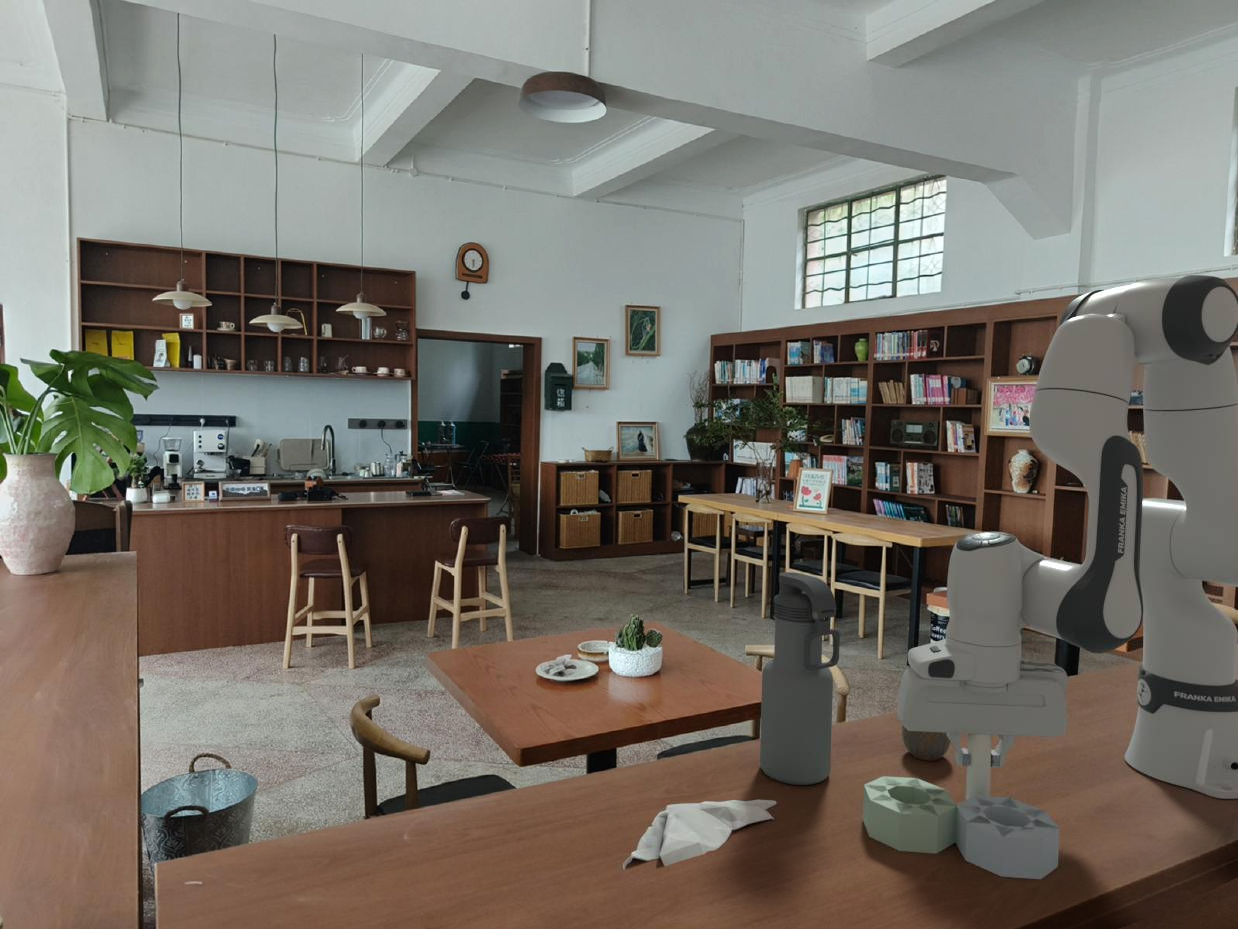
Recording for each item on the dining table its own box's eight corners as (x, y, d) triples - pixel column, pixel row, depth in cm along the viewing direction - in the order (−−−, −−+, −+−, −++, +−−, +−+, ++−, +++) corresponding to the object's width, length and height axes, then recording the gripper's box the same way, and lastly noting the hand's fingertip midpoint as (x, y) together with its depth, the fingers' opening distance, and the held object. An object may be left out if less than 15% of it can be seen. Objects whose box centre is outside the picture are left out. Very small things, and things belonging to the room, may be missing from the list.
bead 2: (1033, 835, 100) (1035, 799, 100) (1069, 881, 90) (1071, 841, 90) (947, 829, 101) (949, 794, 101) (973, 874, 91) (975, 835, 91)
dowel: (985, 799, 108) (988, 709, 107) (992, 809, 105) (995, 717, 105) (963, 798, 108) (966, 708, 108) (969, 808, 106) (972, 716, 105)
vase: (954, 767, 120) (956, 708, 119) (904, 762, 121) (906, 704, 121) (945, 748, 126) (947, 692, 126) (898, 744, 128) (900, 688, 127)
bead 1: (939, 814, 105) (940, 779, 105) (962, 855, 95) (964, 817, 95) (858, 808, 106) (859, 774, 106) (873, 849, 96) (874, 811, 96)
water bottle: (847, 778, 115) (853, 580, 114) (795, 794, 110) (801, 587, 109) (795, 753, 124) (800, 568, 122) (745, 766, 119) (750, 573, 117)
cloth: (753, 789, 113) (753, 773, 113) (821, 835, 101) (821, 817, 101) (580, 831, 101) (580, 813, 101) (633, 889, 89) (633, 869, 89)
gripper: (1057, 655, 108) (1053, 759, 108) (895, 650, 110) (893, 751, 111) (1078, 670, 101) (1074, 780, 102) (906, 664, 104) (903, 771, 105)
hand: (978, 765), depth 107 cm, fingers closed on dowel, 3 cm apart
